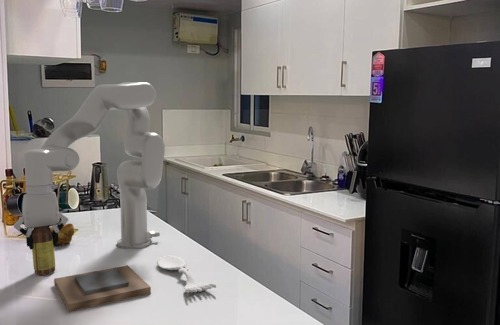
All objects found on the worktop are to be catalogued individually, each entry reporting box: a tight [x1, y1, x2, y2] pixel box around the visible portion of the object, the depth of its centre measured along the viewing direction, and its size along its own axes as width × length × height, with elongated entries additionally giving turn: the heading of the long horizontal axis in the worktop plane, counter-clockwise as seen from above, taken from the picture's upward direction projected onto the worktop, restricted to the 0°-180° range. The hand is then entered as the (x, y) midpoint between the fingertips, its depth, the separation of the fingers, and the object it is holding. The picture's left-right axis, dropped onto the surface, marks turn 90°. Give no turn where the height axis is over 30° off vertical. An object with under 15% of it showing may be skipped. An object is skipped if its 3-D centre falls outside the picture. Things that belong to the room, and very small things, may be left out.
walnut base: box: [53, 264, 152, 313], centre depth 135 cm, size 22×20×3 cm
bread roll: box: [50, 223, 75, 247], centre depth 175 cm, size 13×10×8 cm
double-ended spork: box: [156, 254, 217, 294], centre depth 144 cm, size 9×32×4 cm, turn 28°
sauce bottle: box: [31, 226, 56, 276], centre depth 146 cm, size 7×6×20 cm
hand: (42, 245), depth 146 cm, fingers closed on sauce bottle, 6 cm apart
